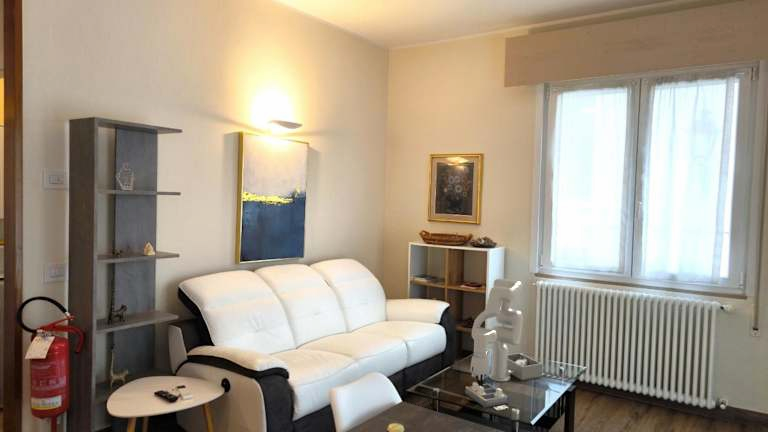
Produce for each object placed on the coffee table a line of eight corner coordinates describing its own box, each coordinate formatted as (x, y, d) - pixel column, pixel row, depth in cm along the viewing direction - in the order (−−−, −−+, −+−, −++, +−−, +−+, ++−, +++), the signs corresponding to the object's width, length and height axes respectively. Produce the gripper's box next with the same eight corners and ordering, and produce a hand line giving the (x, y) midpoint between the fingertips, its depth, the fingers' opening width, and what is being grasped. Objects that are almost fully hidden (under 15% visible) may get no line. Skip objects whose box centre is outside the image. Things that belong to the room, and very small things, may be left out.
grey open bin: (519, 364, 346) (520, 352, 345) (542, 376, 326) (542, 363, 325) (500, 367, 340) (500, 355, 340) (522, 380, 320) (522, 367, 319)
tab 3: (499, 396, 292) (500, 387, 292) (504, 399, 289) (504, 390, 288) (493, 397, 291) (494, 388, 291) (498, 400, 287) (498, 391, 287)
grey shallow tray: (487, 389, 306) (487, 382, 306) (508, 402, 287) (508, 396, 287) (465, 393, 300) (465, 386, 300) (484, 407, 282) (485, 400, 281)
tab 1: (476, 389, 301) (476, 381, 300) (480, 392, 297) (480, 384, 296) (470, 391, 299) (470, 382, 299) (474, 393, 295) (474, 385, 295)
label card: (504, 405, 284) (504, 404, 284) (508, 408, 281) (508, 407, 281) (493, 407, 281) (493, 407, 281) (497, 410, 278) (497, 409, 278)
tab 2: (481, 394, 295) (482, 385, 295) (486, 397, 291) (486, 388, 291) (475, 395, 293) (475, 386, 293) (479, 398, 290) (480, 389, 289)
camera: (523, 376, 325) (524, 360, 324) (511, 374, 329) (512, 358, 328) (531, 369, 337) (531, 353, 337) (519, 366, 341) (519, 351, 341)
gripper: (488, 350, 304) (487, 381, 305) (465, 353, 298) (464, 385, 299) (495, 354, 297) (495, 386, 298) (472, 357, 291) (472, 390, 292)
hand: (479, 386), depth 299 cm, fingers closed
